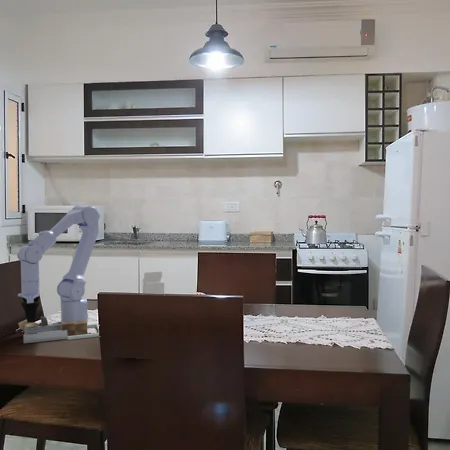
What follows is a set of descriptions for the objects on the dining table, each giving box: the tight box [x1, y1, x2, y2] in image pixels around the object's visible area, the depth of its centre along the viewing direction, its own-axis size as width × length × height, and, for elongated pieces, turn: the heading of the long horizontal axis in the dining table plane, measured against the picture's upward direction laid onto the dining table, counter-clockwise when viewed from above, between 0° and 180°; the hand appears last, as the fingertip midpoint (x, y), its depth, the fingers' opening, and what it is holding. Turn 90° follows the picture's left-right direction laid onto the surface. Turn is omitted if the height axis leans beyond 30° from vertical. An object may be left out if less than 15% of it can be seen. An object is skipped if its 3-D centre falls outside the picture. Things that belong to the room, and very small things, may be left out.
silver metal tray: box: [22, 323, 68, 344], centre depth 150 cm, size 13×10×3 cm
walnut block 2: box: [74, 320, 88, 336], centre depth 154 cm, size 4×4×4 cm
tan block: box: [17, 315, 49, 331], centre depth 159 cm, size 6×5×9 cm
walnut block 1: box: [60, 320, 75, 337], centre depth 152 cm, size 4×4×4 cm
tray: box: [67, 323, 100, 341], centre depth 154 cm, size 11×13×2 cm
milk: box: [142, 271, 165, 295], centre depth 150 cm, size 6×6×22 cm
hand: (31, 319), depth 157 cm, fingers open, 7 cm apart
